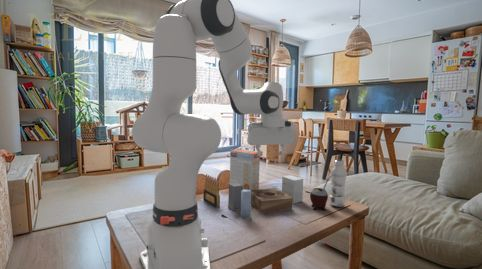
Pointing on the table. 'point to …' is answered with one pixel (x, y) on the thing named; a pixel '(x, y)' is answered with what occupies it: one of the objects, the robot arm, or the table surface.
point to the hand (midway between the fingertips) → (270, 155)
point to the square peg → (235, 196)
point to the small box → (293, 187)
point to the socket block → (270, 200)
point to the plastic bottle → (338, 184)
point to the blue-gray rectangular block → (245, 203)
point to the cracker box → (245, 168)
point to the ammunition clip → (211, 191)
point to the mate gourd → (319, 197)
